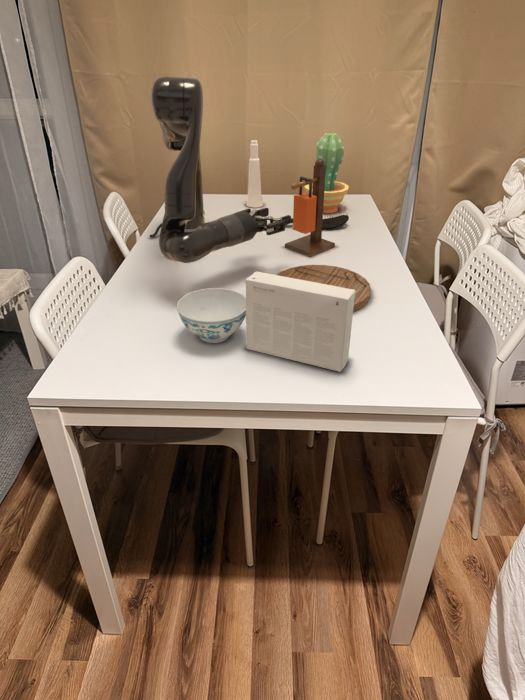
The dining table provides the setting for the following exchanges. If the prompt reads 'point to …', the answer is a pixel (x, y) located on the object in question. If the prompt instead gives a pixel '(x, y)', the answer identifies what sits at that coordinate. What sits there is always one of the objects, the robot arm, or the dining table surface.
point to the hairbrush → (332, 222)
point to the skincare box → (299, 320)
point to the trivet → (333, 280)
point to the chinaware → (212, 313)
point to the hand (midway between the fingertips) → (278, 215)
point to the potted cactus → (331, 171)
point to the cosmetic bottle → (254, 178)
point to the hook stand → (314, 241)
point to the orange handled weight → (304, 210)
